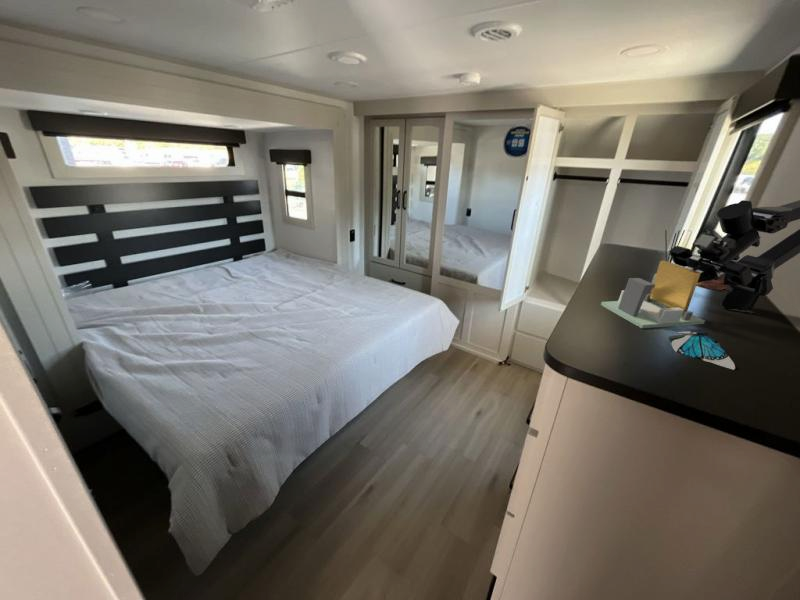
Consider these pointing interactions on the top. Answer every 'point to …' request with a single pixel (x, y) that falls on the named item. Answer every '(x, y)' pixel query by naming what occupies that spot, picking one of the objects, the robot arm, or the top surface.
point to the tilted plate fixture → (647, 308)
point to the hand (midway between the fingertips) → (680, 285)
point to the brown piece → (713, 284)
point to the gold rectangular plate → (674, 286)
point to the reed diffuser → (666, 250)
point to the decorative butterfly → (701, 348)
